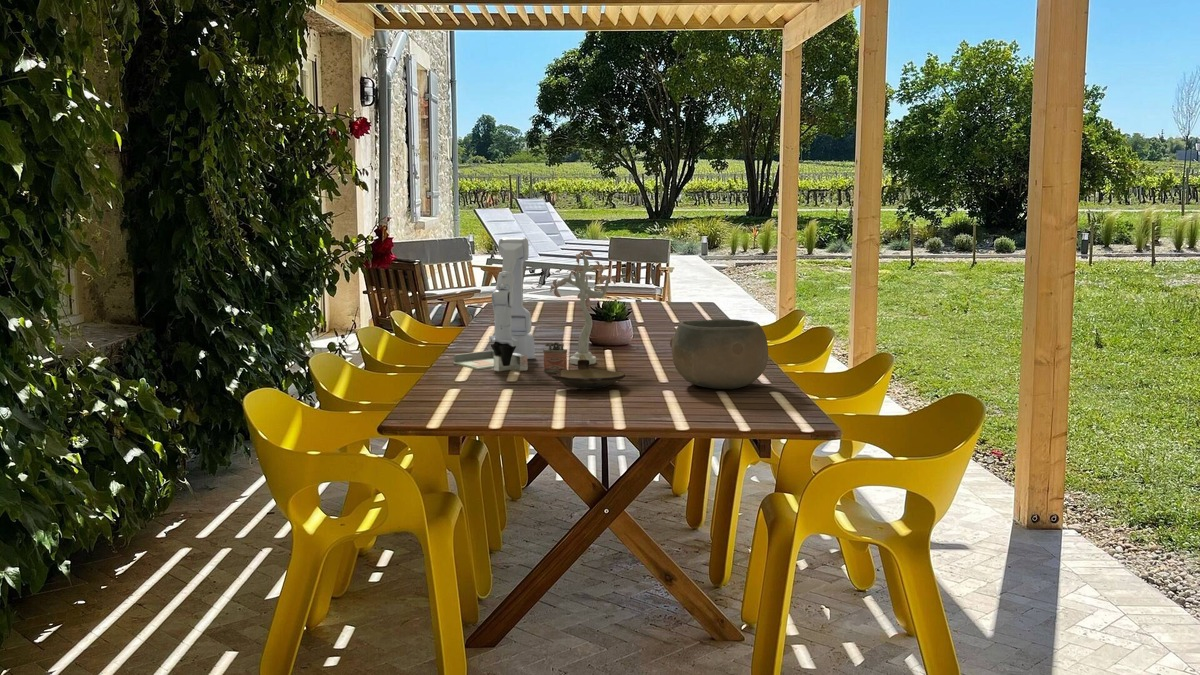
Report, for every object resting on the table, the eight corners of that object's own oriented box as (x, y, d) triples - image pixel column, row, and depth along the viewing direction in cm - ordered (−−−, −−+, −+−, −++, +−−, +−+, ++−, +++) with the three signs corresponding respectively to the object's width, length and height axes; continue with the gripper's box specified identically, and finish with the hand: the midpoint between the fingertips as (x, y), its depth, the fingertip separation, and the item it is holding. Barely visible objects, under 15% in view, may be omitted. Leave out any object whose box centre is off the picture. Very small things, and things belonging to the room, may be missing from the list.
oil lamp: (542, 394, 296) (541, 369, 295) (568, 376, 325) (568, 353, 324) (615, 397, 291) (615, 372, 290) (635, 379, 320) (636, 355, 319)
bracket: (515, 367, 342) (515, 352, 342) (527, 369, 337) (527, 355, 336) (493, 370, 337) (493, 355, 336) (505, 373, 331) (505, 358, 331)
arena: (492, 358, 360) (492, 350, 360) (517, 364, 348) (516, 355, 348) (453, 363, 351) (453, 354, 350) (477, 369, 338) (477, 360, 338)
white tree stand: (556, 355, 367) (554, 246, 362) (619, 356, 365) (619, 246, 360) (545, 368, 340) (543, 251, 334) (613, 369, 338) (613, 251, 332)
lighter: (568, 370, 335) (567, 341, 334) (566, 372, 332) (566, 342, 330) (544, 370, 336) (544, 341, 335) (542, 372, 333) (542, 342, 331)
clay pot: (655, 381, 315) (656, 319, 312) (739, 375, 325) (740, 314, 323) (697, 399, 288) (698, 331, 285) (787, 392, 298) (788, 325, 295)
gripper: (481, 324, 339) (482, 363, 340) (504, 328, 327) (505, 369, 329) (498, 322, 343) (499, 361, 345) (522, 326, 332) (523, 366, 334)
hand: (503, 365), depth 337 cm, fingers closed on bracket, 3 cm apart
